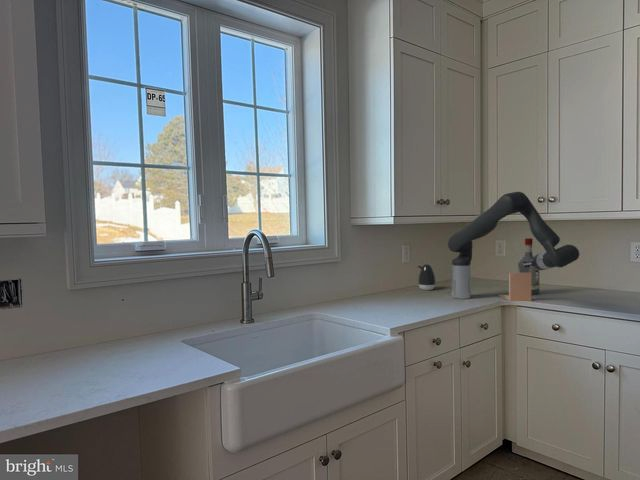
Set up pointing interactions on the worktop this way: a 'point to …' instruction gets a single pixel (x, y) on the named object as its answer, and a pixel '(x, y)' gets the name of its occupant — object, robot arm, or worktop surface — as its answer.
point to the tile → (520, 286)
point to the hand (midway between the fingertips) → (528, 265)
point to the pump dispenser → (426, 277)
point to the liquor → (533, 270)
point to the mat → (506, 297)
